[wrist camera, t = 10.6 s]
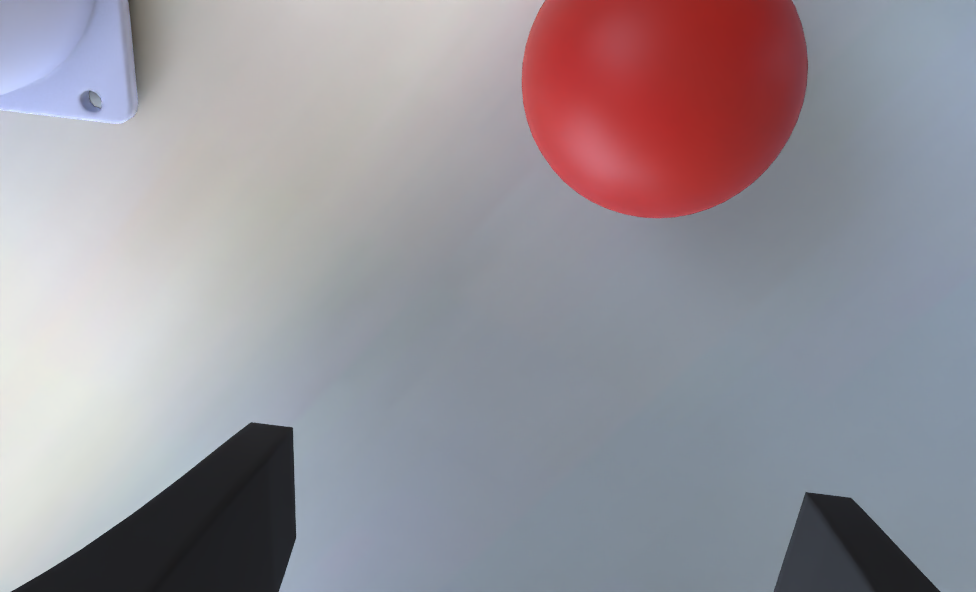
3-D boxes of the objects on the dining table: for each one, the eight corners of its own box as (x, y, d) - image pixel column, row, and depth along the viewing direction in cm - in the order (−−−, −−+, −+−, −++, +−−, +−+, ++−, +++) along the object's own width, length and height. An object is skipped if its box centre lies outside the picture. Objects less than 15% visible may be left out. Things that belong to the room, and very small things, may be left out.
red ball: (517, 153, 20) (497, 242, 15) (544, -92, 18) (532, -81, 13) (741, 179, 20) (795, 279, 15) (800, -65, 18) (888, -42, 13)
